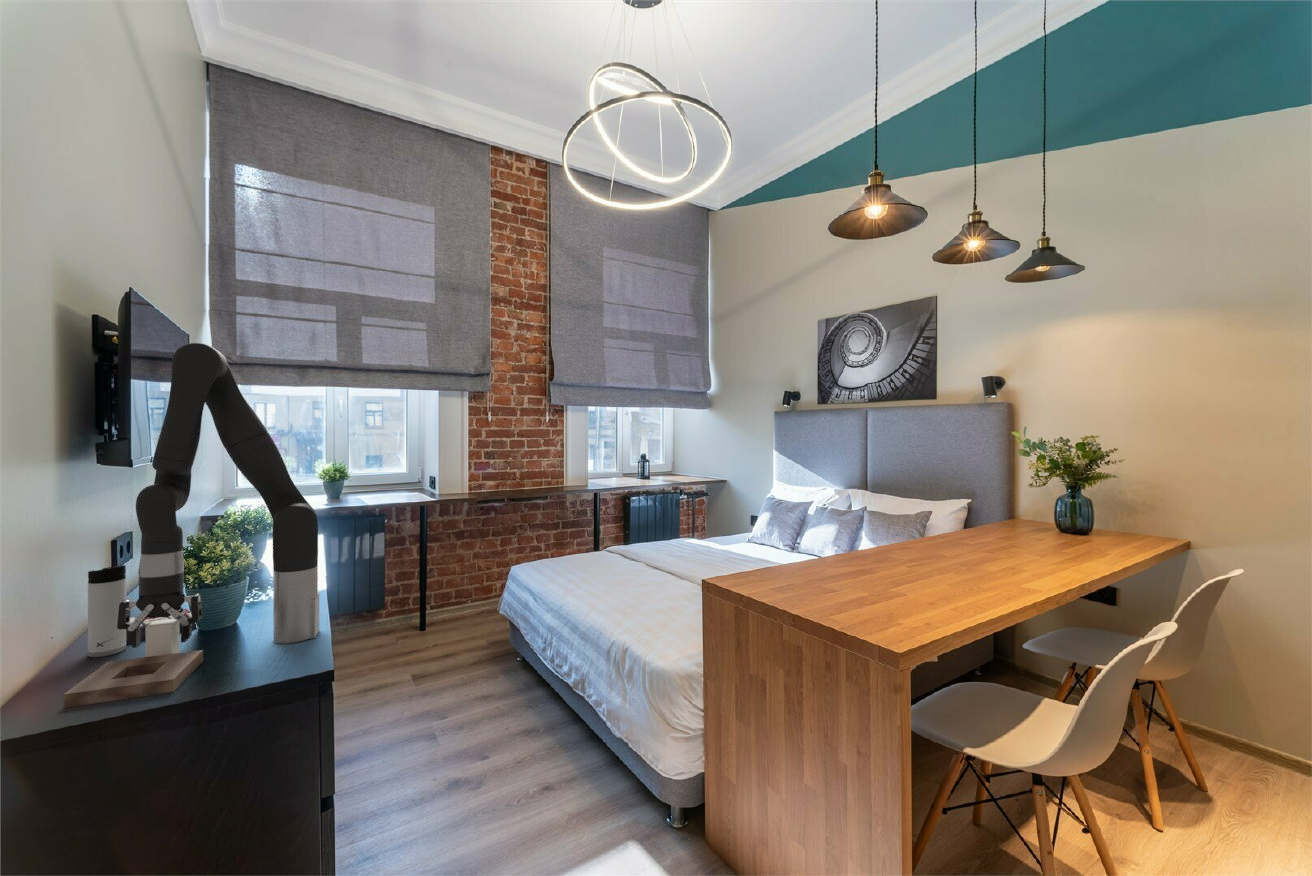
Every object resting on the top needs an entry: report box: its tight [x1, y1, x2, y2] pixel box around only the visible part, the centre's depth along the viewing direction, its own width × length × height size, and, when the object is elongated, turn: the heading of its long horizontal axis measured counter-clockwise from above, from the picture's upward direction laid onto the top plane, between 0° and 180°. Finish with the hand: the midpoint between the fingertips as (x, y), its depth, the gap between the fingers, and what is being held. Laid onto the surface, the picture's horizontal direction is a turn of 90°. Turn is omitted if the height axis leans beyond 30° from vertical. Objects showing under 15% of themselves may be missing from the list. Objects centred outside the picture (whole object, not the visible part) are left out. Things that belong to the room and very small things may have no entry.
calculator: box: [126, 608, 197, 645], centre depth 141 cm, size 11×4×15 cm
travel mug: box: [87, 564, 127, 658], centre depth 127 cm, size 6×7×20 cm
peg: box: [145, 619, 181, 657], centre depth 124 cm, size 4×4×8 cm
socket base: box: [63, 649, 204, 709], centre depth 112 cm, size 16×16×2 cm
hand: (160, 643), depth 124 cm, fingers open, 8 cm apart
